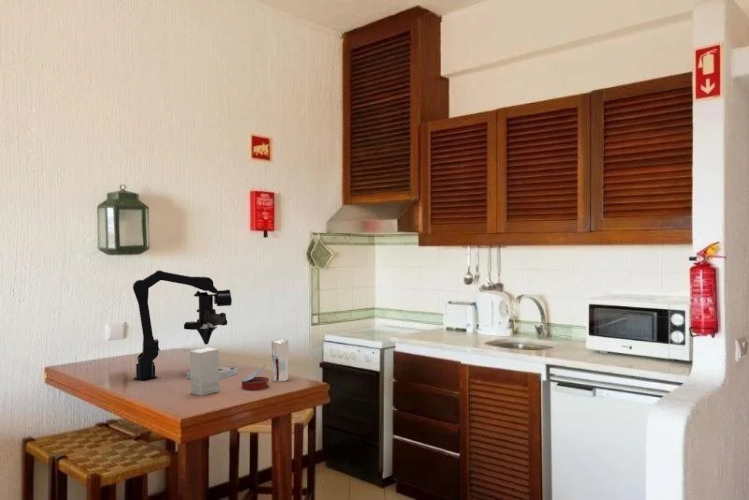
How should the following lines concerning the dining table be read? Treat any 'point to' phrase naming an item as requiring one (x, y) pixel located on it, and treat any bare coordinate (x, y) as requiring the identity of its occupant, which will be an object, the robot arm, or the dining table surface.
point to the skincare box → (204, 371)
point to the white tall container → (280, 360)
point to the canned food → (255, 381)
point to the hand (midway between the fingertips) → (206, 344)
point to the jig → (222, 372)
